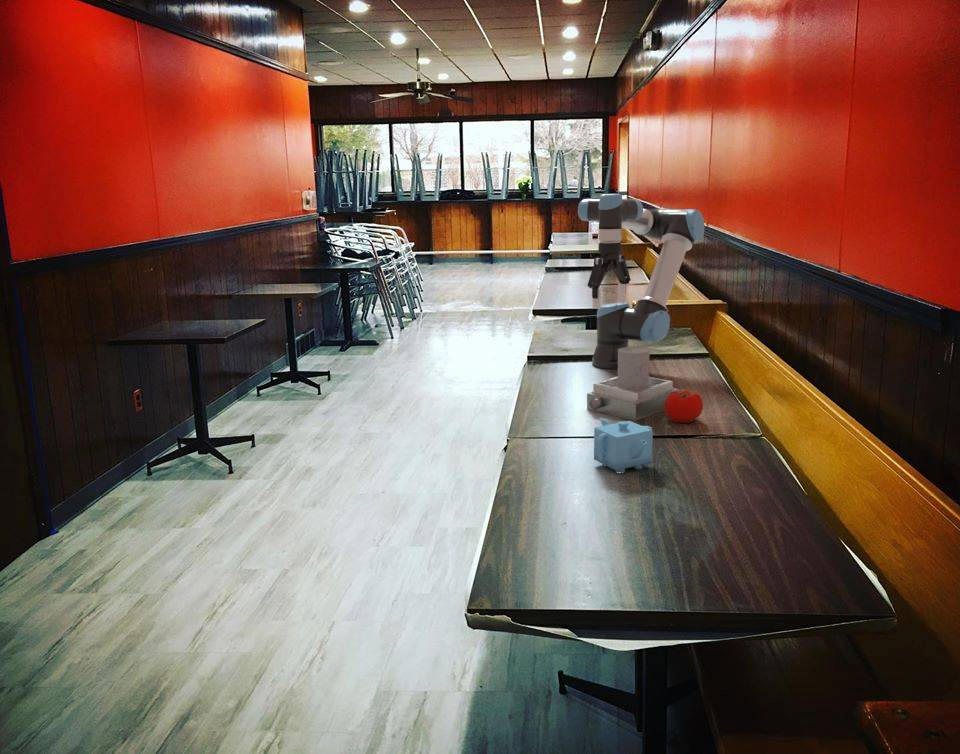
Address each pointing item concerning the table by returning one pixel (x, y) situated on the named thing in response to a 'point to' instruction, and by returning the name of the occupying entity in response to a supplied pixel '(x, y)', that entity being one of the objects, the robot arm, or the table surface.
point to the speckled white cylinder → (633, 368)
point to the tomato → (683, 406)
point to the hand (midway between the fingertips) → (609, 305)
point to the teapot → (623, 445)
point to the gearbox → (629, 398)
